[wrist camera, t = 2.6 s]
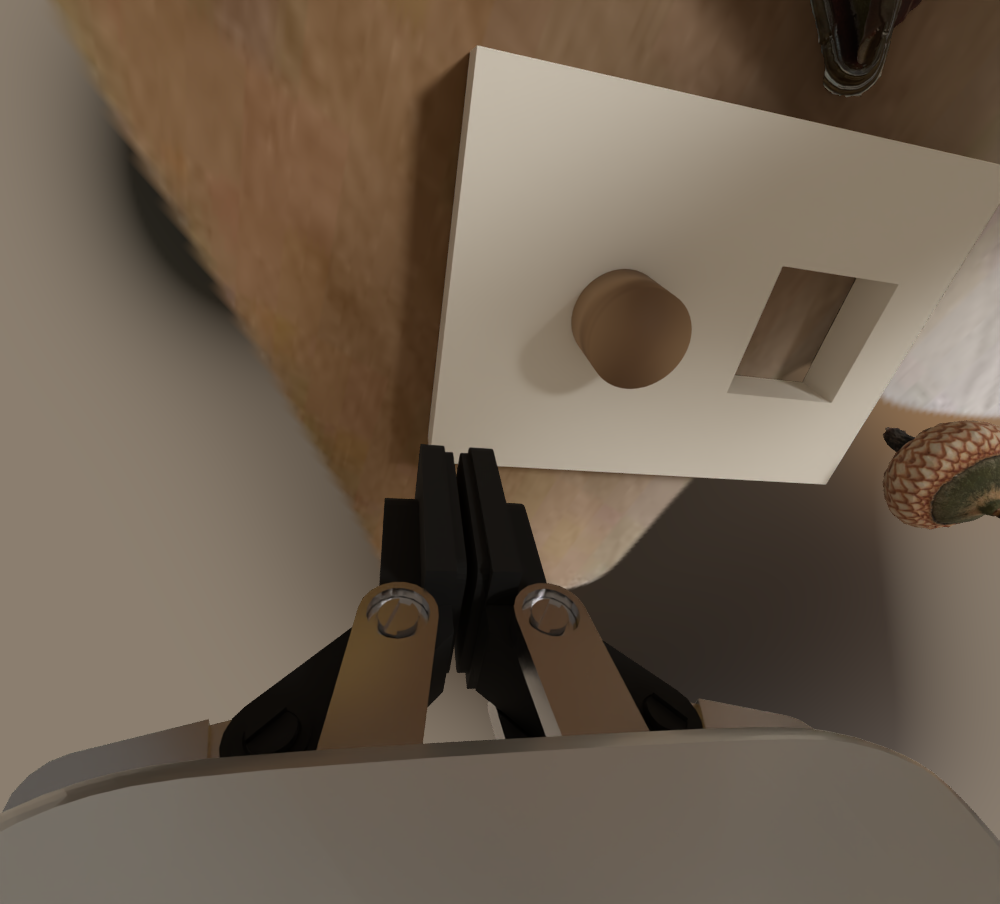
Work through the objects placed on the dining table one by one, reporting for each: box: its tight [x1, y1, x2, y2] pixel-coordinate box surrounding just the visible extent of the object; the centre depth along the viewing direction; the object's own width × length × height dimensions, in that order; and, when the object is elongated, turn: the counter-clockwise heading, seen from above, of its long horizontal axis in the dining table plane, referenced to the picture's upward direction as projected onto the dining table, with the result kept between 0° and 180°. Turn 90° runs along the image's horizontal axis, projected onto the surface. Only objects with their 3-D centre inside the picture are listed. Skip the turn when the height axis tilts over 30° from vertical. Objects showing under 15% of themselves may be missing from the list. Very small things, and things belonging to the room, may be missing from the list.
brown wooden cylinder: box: [571, 269, 692, 389], centre depth 26 cm, size 5×5×4 cm
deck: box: [428, 46, 1000, 484], centre depth 30 cm, size 28×20×3 cm
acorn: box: [883, 421, 1000, 529], centre depth 35 cm, size 8×8×10 cm
